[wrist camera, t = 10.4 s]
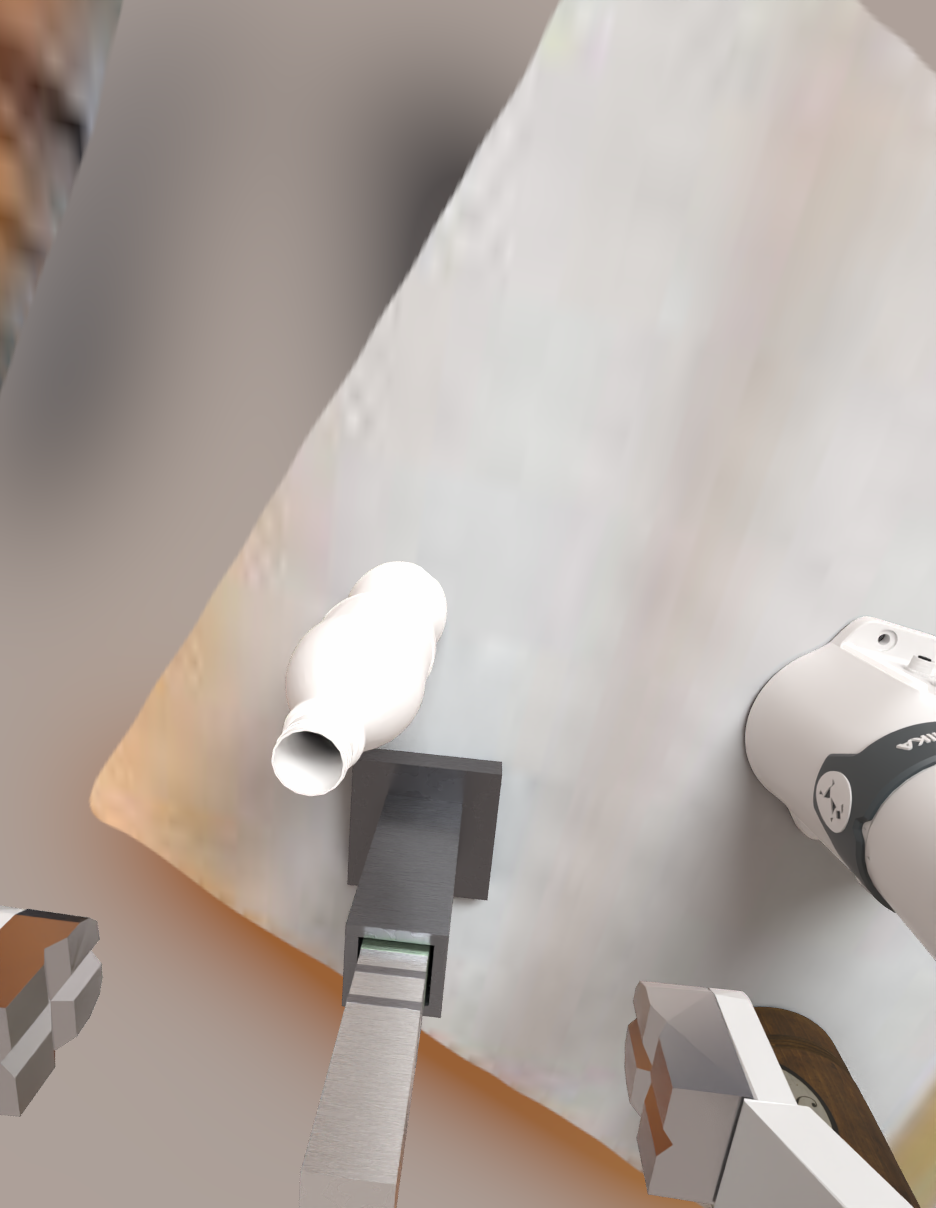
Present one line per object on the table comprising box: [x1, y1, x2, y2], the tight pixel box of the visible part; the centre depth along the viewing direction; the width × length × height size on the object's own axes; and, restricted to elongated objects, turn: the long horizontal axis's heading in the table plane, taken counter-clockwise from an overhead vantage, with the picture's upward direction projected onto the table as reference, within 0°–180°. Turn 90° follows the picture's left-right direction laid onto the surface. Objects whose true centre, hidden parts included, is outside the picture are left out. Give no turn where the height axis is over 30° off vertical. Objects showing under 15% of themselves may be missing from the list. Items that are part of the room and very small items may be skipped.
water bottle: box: [271, 561, 447, 796], centre depth 36 cm, size 7×7×25 cm
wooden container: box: [711, 1007, 920, 1208], centre depth 48 cm, size 15×15×22 cm
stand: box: [342, 749, 502, 1018], centre depth 45 cm, size 12×12×17 cm
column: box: [299, 938, 432, 1208], centre depth 36 cm, size 4×4×20 cm
